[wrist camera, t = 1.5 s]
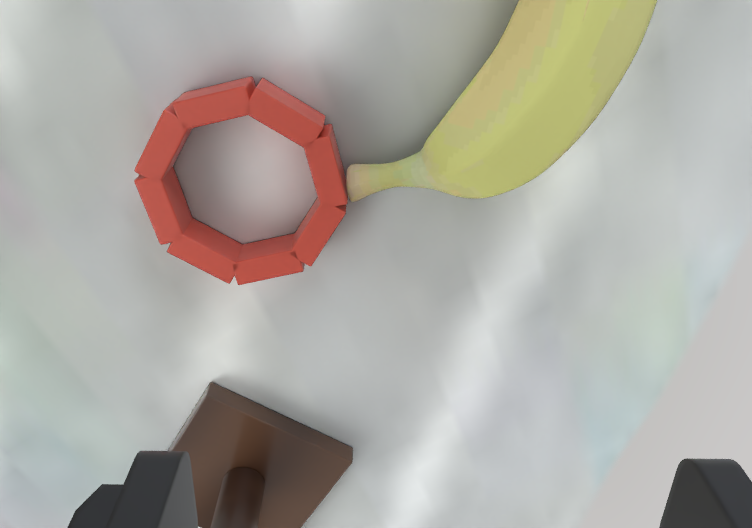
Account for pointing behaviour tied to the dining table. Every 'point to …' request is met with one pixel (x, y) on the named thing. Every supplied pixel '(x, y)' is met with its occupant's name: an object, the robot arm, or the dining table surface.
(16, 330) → the dining table surface
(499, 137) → the banana
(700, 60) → the dining table surface
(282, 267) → the ring
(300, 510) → the peg stand
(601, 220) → the dining table surface
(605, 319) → the dining table surface
